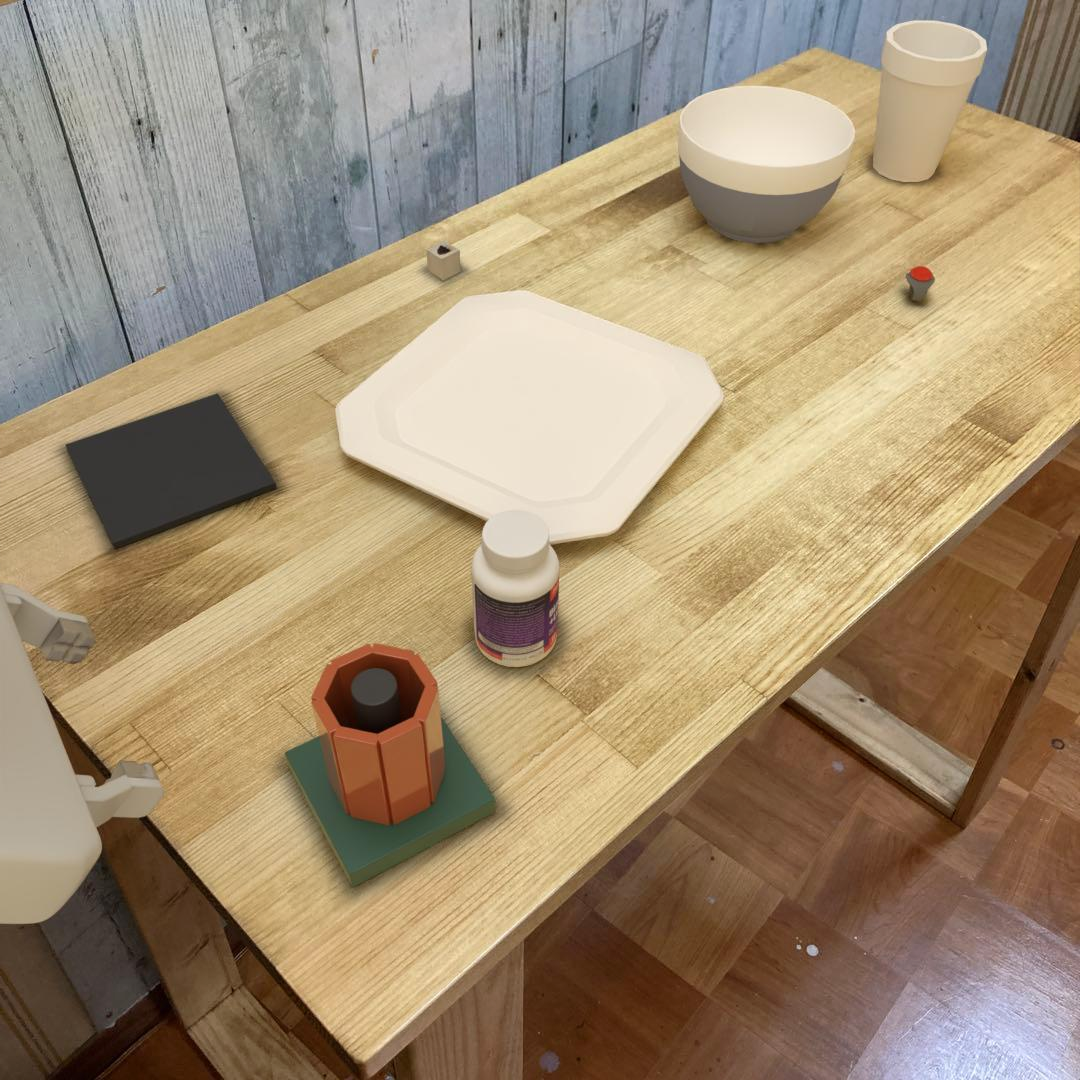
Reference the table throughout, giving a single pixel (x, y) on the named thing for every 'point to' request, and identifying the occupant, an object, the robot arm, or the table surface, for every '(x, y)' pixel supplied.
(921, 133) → the foam cup
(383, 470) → the plate
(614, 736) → the table surface
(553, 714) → the table surface
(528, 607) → the pill bottle
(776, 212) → the bowl
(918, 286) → the ring
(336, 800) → the post stand
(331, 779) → the orange hollow octagonal tube
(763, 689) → the table surface
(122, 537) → the mat
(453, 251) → the cube with dark pebbles
